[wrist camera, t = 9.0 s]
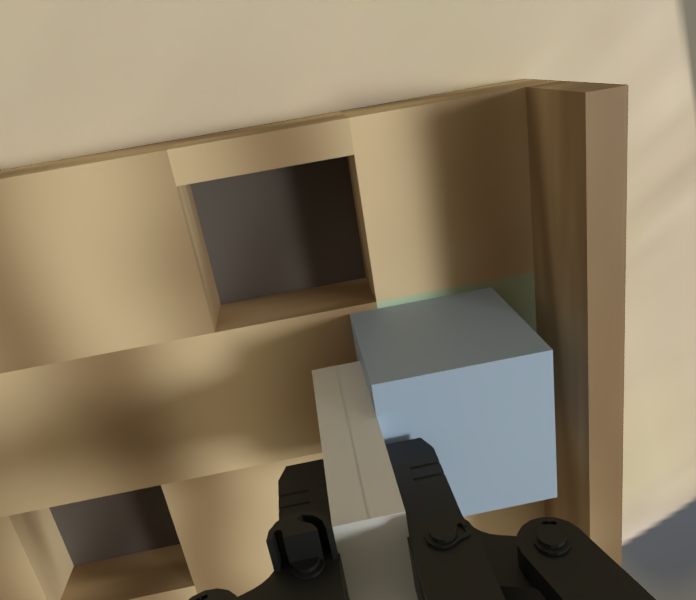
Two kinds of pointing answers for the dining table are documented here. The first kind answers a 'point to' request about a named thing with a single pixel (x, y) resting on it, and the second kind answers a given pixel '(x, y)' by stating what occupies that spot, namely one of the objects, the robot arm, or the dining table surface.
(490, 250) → the board
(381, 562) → the robot arm
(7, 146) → the dining table surface
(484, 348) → the block
